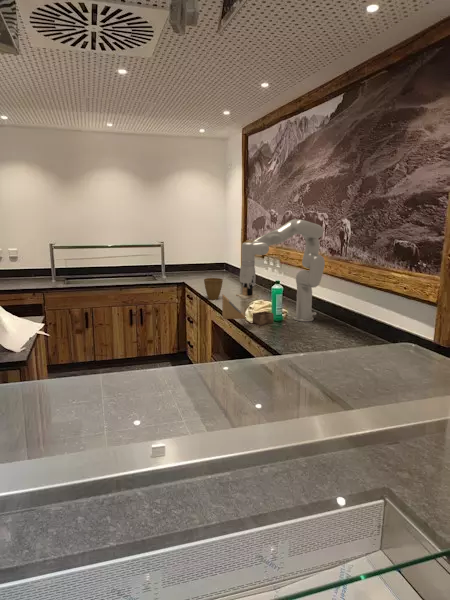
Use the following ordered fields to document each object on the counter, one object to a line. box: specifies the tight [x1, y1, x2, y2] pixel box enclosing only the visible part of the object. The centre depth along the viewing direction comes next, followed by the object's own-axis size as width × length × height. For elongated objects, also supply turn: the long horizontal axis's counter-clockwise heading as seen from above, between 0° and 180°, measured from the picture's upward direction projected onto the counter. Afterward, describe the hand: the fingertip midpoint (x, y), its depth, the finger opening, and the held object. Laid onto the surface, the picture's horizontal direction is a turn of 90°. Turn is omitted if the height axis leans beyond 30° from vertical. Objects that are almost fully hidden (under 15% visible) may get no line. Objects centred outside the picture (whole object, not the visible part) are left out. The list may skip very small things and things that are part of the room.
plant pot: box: [203, 277, 224, 301], centre depth 332 cm, size 15×15×16 cm
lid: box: [235, 286, 260, 300], centre depth 249 cm, size 11×9×6 cm
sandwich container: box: [221, 294, 247, 320], centre depth 273 cm, size 9×15×15 cm, turn 96°
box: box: [252, 310, 274, 326], centre depth 259 cm, size 10×8×6 cm
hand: (247, 294), depth 250 cm, fingers closed on lid, 3 cm apart
